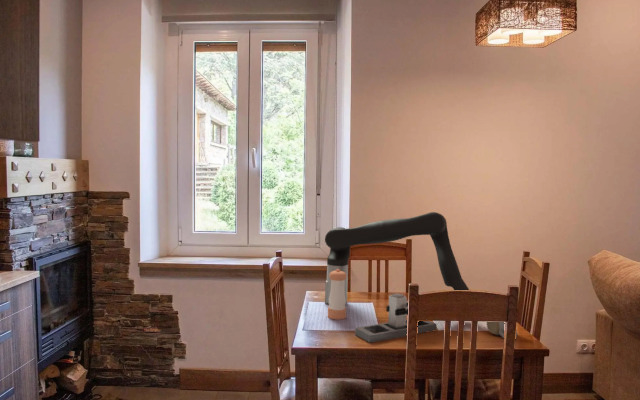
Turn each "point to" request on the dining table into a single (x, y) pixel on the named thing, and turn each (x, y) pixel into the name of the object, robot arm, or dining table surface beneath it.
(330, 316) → the pepper mill
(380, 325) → the grey compartment tray
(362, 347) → the dining table surface
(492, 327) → the ceramic mug
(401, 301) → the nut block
